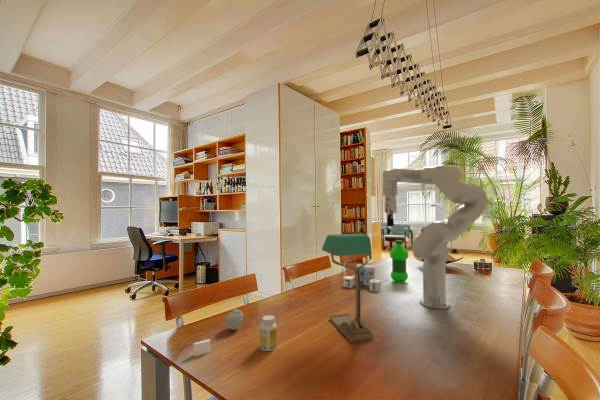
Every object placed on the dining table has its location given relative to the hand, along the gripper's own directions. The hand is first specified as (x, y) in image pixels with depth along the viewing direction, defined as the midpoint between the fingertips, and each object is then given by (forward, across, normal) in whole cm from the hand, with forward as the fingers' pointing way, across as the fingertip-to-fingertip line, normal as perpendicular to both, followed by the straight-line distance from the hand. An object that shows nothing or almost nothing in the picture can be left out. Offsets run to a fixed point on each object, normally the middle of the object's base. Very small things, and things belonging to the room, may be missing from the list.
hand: (390, 226), depth 152 cm
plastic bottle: (+35, +21, -1) cm, 41 cm away
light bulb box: (+35, +7, +16) cm, 39 cm away
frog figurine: (+35, -77, +42) cm, 95 cm away
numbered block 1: (+35, -2, +8) cm, 36 cm away
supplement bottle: (+35, -82, +23) cm, 92 cm away
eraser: (+35, -95, +39) cm, 109 cm away
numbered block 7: (+35, -2, +23) cm, 42 cm away
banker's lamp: (+35, -55, +5) cm, 66 cm away
